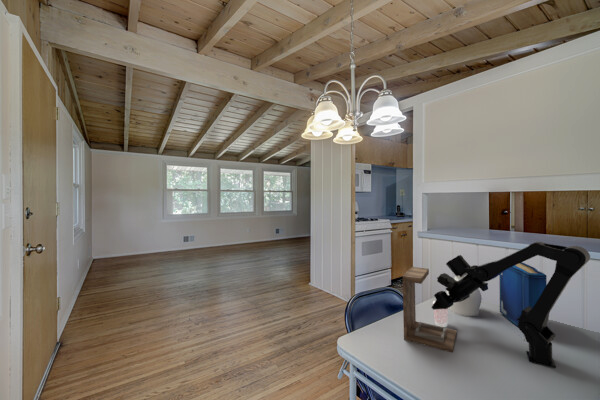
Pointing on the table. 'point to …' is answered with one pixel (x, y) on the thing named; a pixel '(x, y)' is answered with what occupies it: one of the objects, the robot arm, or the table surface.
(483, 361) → the table surface
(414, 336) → the wooden headphone stand
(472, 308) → the vase
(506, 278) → the book
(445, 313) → the beverage cup
